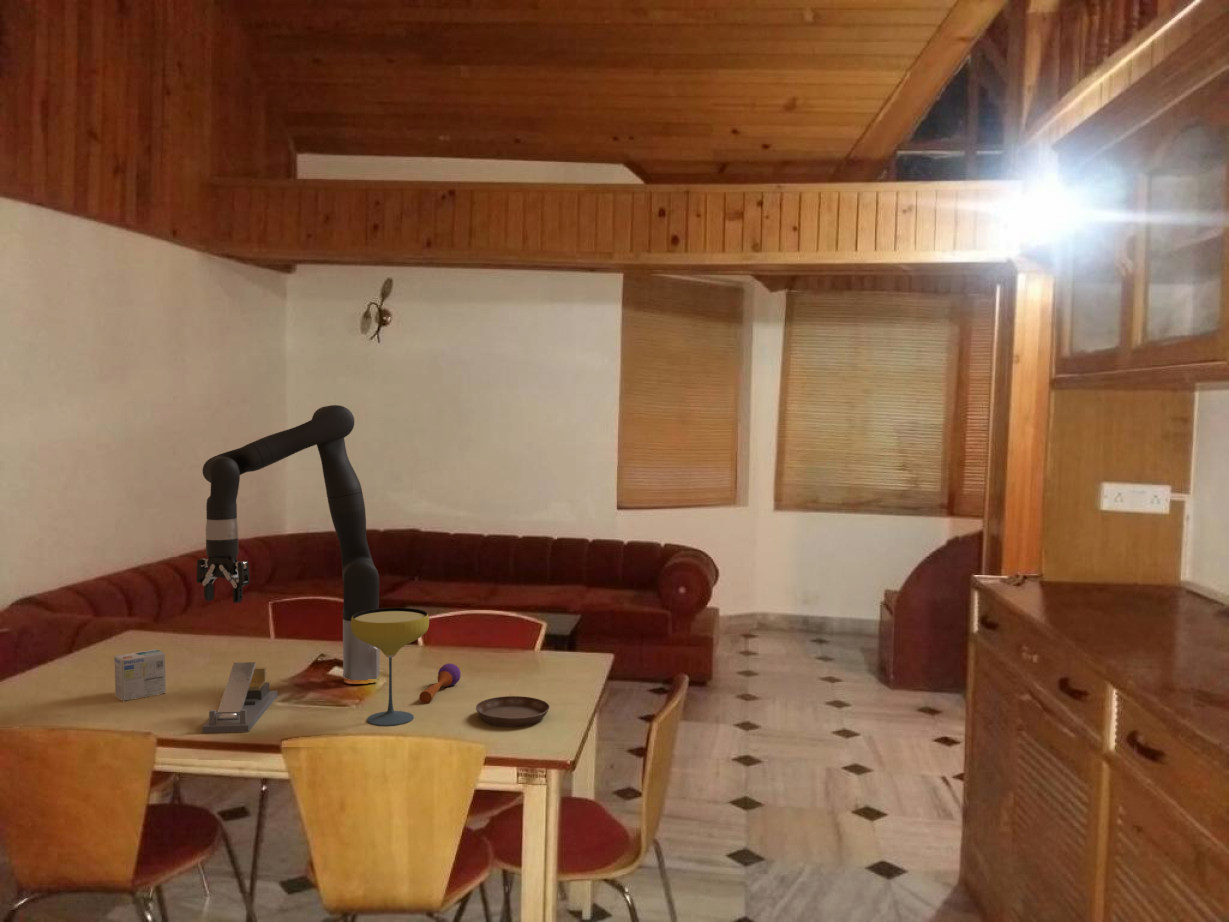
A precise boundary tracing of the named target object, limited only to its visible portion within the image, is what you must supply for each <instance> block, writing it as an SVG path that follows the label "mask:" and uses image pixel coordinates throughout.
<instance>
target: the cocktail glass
mask: <svg viewBox="0 0 1229 922" xmlns="http://www.w3.org/2000/svg"><path fill="white" fill-rule="evenodd" d="M429 625H430V617H429V614H428V611H425V610H422V609H418V608H409V607H384V608H383V607H382V608H379V609H372V610H366V611H362V612H359V613H356V614H354V615H353V616H352V619H351V629H352V633H353V634H354V635H355V636H356V637H357V638H358V639H360V640H361V641H363V642H365V643H368V644H370V645H372V646H375V647H377V648H379V651H381V652H382V653H383V655H385V657H387V658H388V661H389V662H388V671H389V672H388V705H387V710H386V711H385V710H384V711H380V712H377V713H373V714H371V715H370V716H368V717H367V718H366V721H367V722H368V723H369V724H370V725H374V726H378V727H392V726H395V727H396V726H400V725H405V724H408V723H410V722H411V721H413V719H414V714H413V713H411V712H409V711H408V712H407V711H404V710H402V711H401V710H395V709H394V705H393V676H392V675H393V673H392V672H393V671H392V670H393V658H394V657H395V656H396V655H397V654H398V652H399V651H400V650H401V649H402V648H404V647H405V646H407V645H410V644H411V643H413V642H415V641H417V640H418V639H420V638H421V637H423V636H424V635H425V634H426V633H427V631H428V629H429V627H430V626H429Z"/></svg>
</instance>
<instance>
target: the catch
mask: <svg viewBox="0 0 1229 922" xmlns="http://www.w3.org/2000/svg"><path fill="white" fill-rule="evenodd" d="M266 679H267V667H266V666H264V667H262V666H261V667H259V666H257V667H256V666H255V669H254V673H253V676H252V679H251V682H250V686H249V689H248V691H258V690H260V689H261V688H262V687H263V686H264V685H265V682H266Z"/></svg>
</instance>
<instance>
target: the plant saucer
mask: <svg viewBox="0 0 1229 922" xmlns="http://www.w3.org/2000/svg"><path fill="white" fill-rule="evenodd" d="M475 709H476V712H477V714H478V715H479V717H481V719H482V720H483V721H485V722H486V723H487V724H490V725H494V726H498V727H506V728H508V727H524V726H529V725H533V724H536V723H538V722H540V721H541V720H543V718H544V717H545V716H546V715H547V713H548V712H549V710H550V704H549V703H548V702H546V701H545V700H542V699H539V698H535V697H530V696H522V695H521V696H520V695H519V696H518V695H517V696H515V695H514V696H513V695H509V696H508V695H506V696H496V697H492V698H488V699H484V700H482V701H480V702H478V703H477V704H476V706H475Z"/></svg>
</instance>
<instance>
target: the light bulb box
mask: <svg viewBox="0 0 1229 922" xmlns="http://www.w3.org/2000/svg"><path fill="white" fill-rule="evenodd" d="M114 687H115V689H114V691H115V697H116V696H117V697H119V698H120V699H122V700H129V699H134V700H136V699H135V698H139V699H141V698H140V697H145V698H148V697H147V696H150V697H152V696H151V695H155V696H158V695H157V694H160V695H164V694H163V693H165V694H166V693H167V687H166V653H165V652H164V651H161V650H159V649H157V648H154V649H150V650H149V649H148V650H143V651H136V652H130V653H125V654H119V655H118V654H117V655H114ZM117 697H116V698H117ZM120 699H119V700H120ZM129 701H130V700H129Z"/></svg>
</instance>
